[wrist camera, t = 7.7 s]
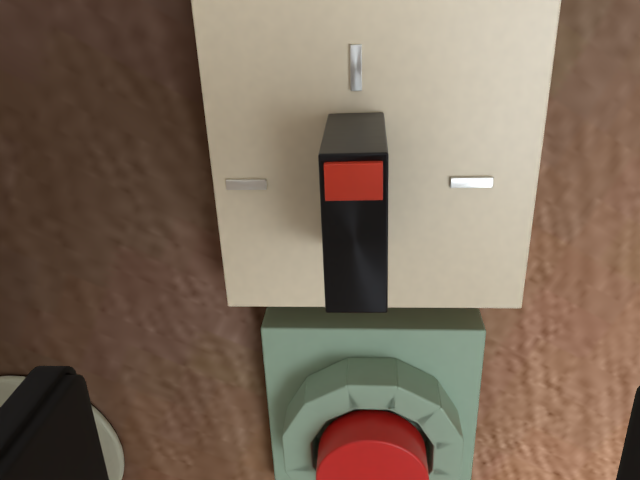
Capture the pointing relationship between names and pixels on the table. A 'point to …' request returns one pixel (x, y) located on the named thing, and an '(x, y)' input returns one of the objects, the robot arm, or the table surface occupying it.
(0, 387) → the can
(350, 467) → the power button
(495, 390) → the table surface
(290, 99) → the panel
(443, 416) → the power switch
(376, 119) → the knob
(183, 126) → the table surface
